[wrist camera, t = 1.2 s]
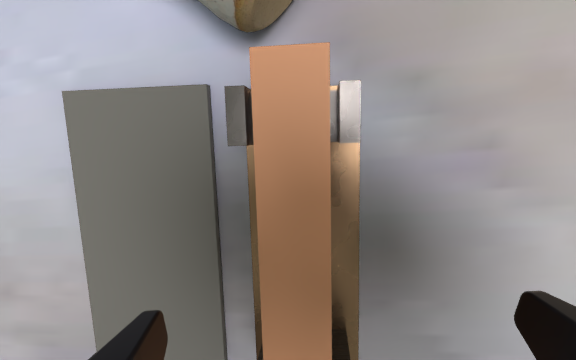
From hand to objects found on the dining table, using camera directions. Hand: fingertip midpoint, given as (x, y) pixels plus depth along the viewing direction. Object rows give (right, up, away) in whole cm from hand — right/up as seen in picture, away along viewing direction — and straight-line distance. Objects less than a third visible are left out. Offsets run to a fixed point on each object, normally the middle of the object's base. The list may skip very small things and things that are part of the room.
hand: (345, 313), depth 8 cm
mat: (-11, 0, +14) cm, 18 cm away
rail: (-1, -1, +8) cm, 8 cm away
